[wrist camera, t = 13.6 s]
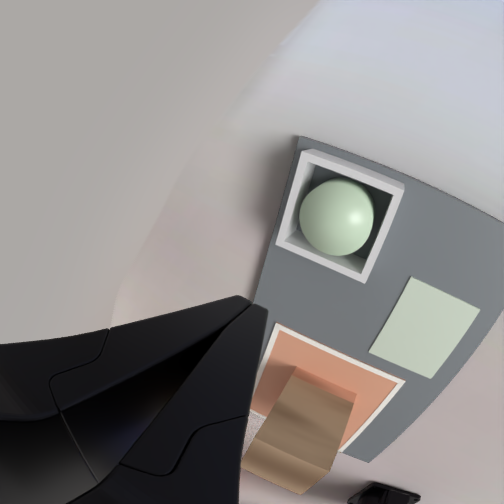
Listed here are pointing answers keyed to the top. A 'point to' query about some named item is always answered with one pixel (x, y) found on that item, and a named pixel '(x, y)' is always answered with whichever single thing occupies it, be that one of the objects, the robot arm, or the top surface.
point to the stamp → (300, 433)
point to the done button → (337, 216)
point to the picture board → (377, 297)
